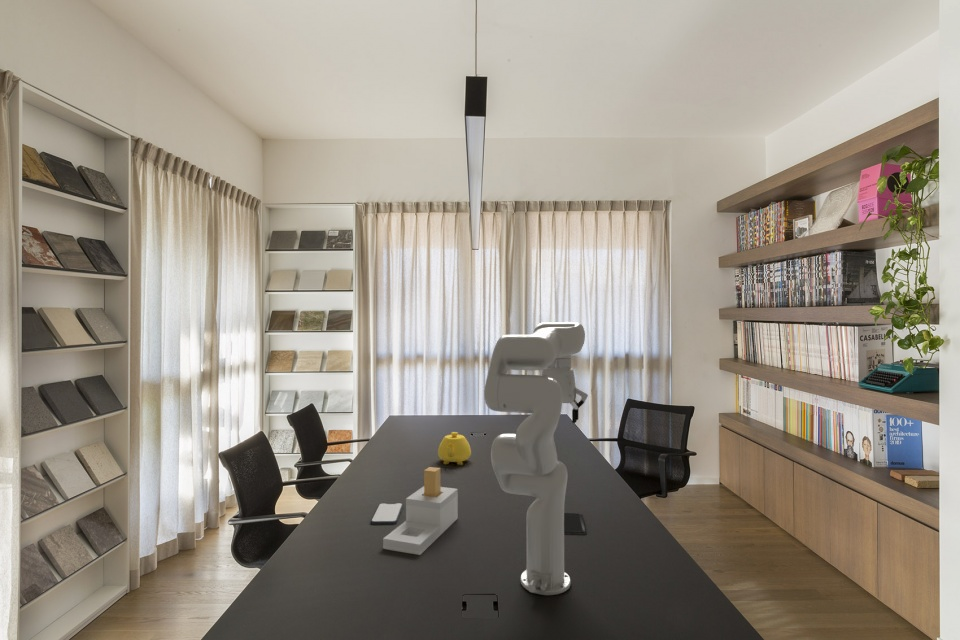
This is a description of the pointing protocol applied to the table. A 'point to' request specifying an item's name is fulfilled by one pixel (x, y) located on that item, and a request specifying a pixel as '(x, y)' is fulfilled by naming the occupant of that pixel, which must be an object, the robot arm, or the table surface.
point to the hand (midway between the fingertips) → (558, 421)
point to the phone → (574, 524)
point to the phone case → (387, 513)
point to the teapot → (454, 449)
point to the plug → (432, 482)
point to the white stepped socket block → (423, 521)
